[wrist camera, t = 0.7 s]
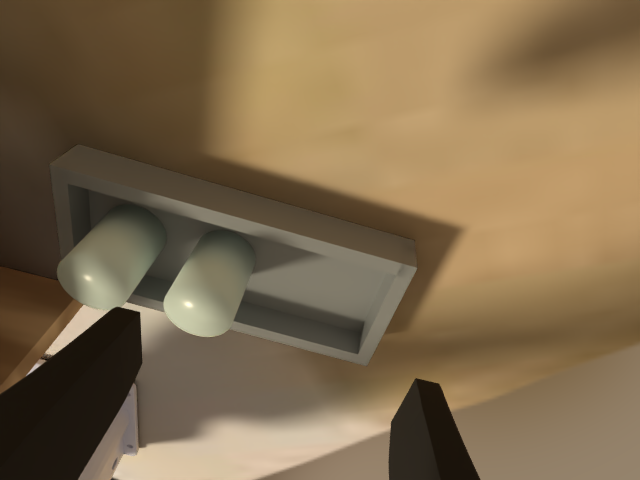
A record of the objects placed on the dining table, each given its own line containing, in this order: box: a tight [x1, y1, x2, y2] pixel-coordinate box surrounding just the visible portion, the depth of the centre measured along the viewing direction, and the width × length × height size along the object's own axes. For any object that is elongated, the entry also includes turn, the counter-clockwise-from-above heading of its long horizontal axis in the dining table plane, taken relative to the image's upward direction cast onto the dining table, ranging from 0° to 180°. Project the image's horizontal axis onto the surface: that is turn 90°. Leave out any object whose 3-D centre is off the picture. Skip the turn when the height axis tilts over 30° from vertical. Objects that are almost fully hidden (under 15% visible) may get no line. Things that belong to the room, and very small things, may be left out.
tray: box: [49, 144, 417, 366], centre depth 21 cm, size 7×16×5 cm, turn 76°
